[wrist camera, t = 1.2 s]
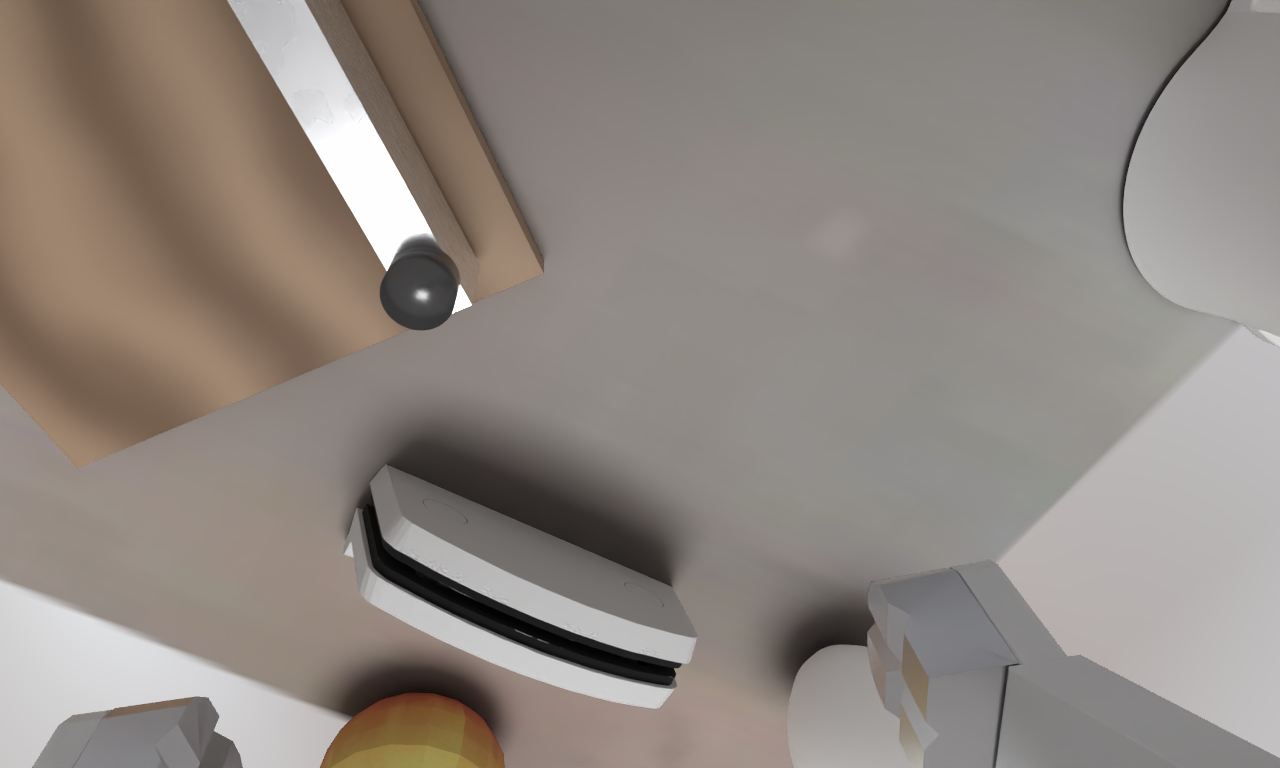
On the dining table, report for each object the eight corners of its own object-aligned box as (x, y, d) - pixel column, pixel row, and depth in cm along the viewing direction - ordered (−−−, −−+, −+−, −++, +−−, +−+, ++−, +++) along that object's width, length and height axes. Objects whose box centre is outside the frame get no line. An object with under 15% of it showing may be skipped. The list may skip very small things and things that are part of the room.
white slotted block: (337, 537, 40) (315, 633, 31) (381, 452, 40) (373, 522, 31) (626, 650, 46) (684, 761, 36) (666, 576, 45) (735, 667, 36)
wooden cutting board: (267, -308, 25) (248, -325, 24) (544, 260, 35) (543, 276, 33) (-313, -11, 27) (-366, -8, 26) (94, 449, 37) (73, 472, 35)
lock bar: (127, -192, 25) (20, -227, 20) (244, -252, 24) (165, -303, 19) (411, 295, 32) (386, 357, 28) (503, 256, 32) (494, 312, 27)
